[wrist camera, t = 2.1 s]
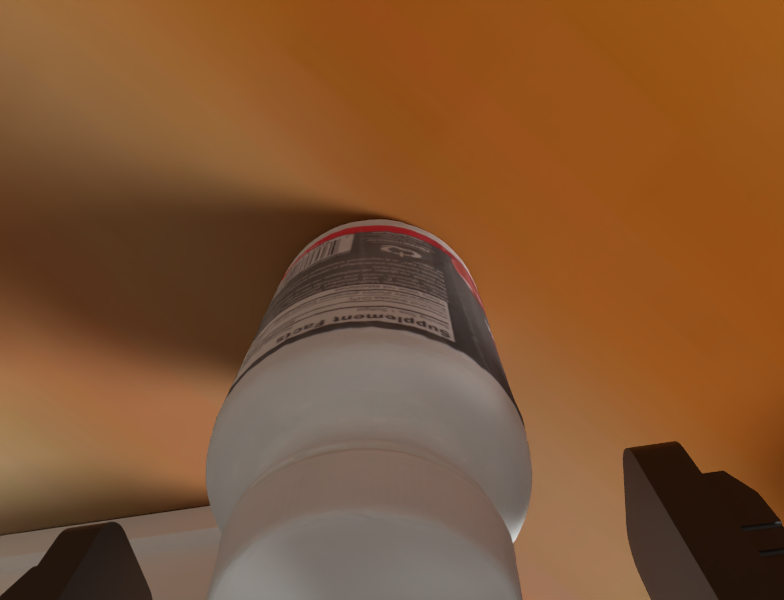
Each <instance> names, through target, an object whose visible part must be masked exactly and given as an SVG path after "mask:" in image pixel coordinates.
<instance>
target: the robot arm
mask: <svg viewBox="0 0 784 600" xmlns="http://www.w3.org/2000/svg"><path fill="white" fill-rule="evenodd" d="M623 470H624V489H625V508H626V526H627V535H628V540H629V545H630V549H631V552H632V556H633V559H634V562H635V565H636V567H637V570H638V572H639V575H640V577H641V579H642V581H643V583H644V585H645V587H646V590H647V592H648V594H649V596H650V598H651V600H784V527H783V526H782V524H781V520H780V519H779V518H778V517H777V516H776V514H775V513H774V512H773V511H772V509H771V508H770V507H769V506H768V504H767V503H766V502H765V501H764V500H763V498H762V497H761V496H760V495H759V493H758V492H756V491H755V490H753V489H751V488H750V487H748V486H747V485H745V484H744V483H742V482H740V481H739V480H737V479H736V478H734V477H733V476H731V475H729V474H728V473H726V472H725V471H718V472H711V473H704V474H702V473H701V472H700V470H699V469H698V467H697V466H696V465H695V463H694V462H693V460H692V459H691V458H690V456H689V455H688V454H687V452H686V451H685V449H684V448H683V447H682V446H681V444H679V443H678V442H676V441H673V442H666V443H659V444H652V445H645V446H638V447H632V448H626V449H625V450H624V453H623ZM0 600H152V594H151V591H150V588H149V586H148V584H147V581H146V579H145V577H144V574H143V572H142V570H141V568H140V565H139V563H138V561H137V558H136V556H135V554H134V552H133V549H132V547H131V545H130V542H129V540H128V538H127V535H126V533H125V531H124V529H123V528H122V526H121V525H120V524H118V523H116V522H106V523H99V524H92V525H85V526H79V527H72V528H67V529H65V530H63V531H62V532H61V533H60V534H59V535H58V537H57V538H56V539H55V541H54V542H53V544H52V545H51V547H50V548H49V549H48V551H47V552H46V554H45V555H44V557H43V558H42V559H41V561H40V562H39V564H38V565H37V566H34V567H32V568H31V569H29V570H28V571H27V572H26V573H25V574H24V575H23V576H22V577H21V578H19V579H18V580H17V581H16V582H15V583H14V584H13V585H12V586H11V587H9V588H8V589H7V590H6V591H5V592H4V593H3V594H2V595H1V596H0Z"/></svg>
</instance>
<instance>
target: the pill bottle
mask: <svg viewBox="0 0 784 600" xmlns="http://www.w3.org/2000/svg"><path fill="white" fill-rule="evenodd" d="M206 486H207V494H208V498H209V502H210V506H211V510H212V513H213V516H214V518H215V521H216V524H217V526H218V528H219V530H220V532H221V534H222V536H221V539H220V544H219V551H218V557H217V560H216V564H215V568H214V571H213V575H212V578H211V582H210V586H209V589H208V593H207V597H206V600H522V594H521V588H520V582H519V576H518V571H517V565H516V557H515V551H514V545H513V543H514V541H515V539H516V538H517V536H518V534H519V532H520V530H521V527H522V525H523V522H524V520H525V517H526V513H527V510H528V506H529V501H530V495H531V488H532V466H531V458H530V452H529V447H528V442H527V437H526V432H525V427H524V423H523V419H522V416H521V413H520V411H519V409H518V407H517V405H516V403H515V400H514V398H513V395H512V393H511V390H510V387H509V384H508V381H507V378H506V375H505V372H504V370H503V367H502V364H501V361H500V358H499V355H498V352H497V349H496V345H495V342H494V339H493V336H492V333H491V330H490V326H489V323H488V320H487V317H486V314H485V311H484V307H483V304H482V301H481V298H480V296H479V293H478V291H477V287H476V285H475V283H474V281H473V279H472V277H471V275H470V273H469V271H468V269H467V267H466V266H465V264H464V263H463V261H462V260H461V259H460V257H459V256H458V255H457V254H456V253H455V252H454V251H453V250H452V249H451V248H450V247H449V246H448V245H447V244H446V243H445V242H443V241H442V240H441V239H439V238H437V237H436V236H434V235H433V234H431V233H429V232H427V231H425V230H422V229H420V228H418V227H415V226H412V225H408V224H405V223H403V222H399V221H393V220H384V219H376V220H365V221H357V222H352V223H347V224H344V225H341V226H338V227H335V228H333V229H331V230H329V231H327V232H325V233H324V234H322V235H320V236H319V237H317V238H316V239H314V240H313V241H312V242H311V243H309V244H308V245H307V246H306V247H305V248H304V249H303V250H302V251H301V252H300V253H299V254H298V256H297V257H296V258H295V259H294V261H293V262H292V264H291V265H290V266H289V268H288V270H287V271H286V273H285V275H284V277H283V279H282V280H281V282H280V284H279V286H278V288H277V291H276V292H275V294H274V297H273V299H272V301H271V303H270V305H269V307H268V309H267V311H266V313H265V315H264V317H263V319H262V322H261V324H260V326H259V329H258V331H257V334H256V336H255V338H254V340H253V342H252V344H251V347H250V349H249V350H248V352H247V354H246V356H245V358H244V361H243V363H242V365H241V367H240V369H239V372H238V374H237V376H236V378H235V380H234V382H233V384H232V386H231V388H230V391H229V393H228V395H227V397H226V399H225V401H224V403H223V405H222V407H221V409H220V411H219V414H218V416H217V418H216V422H215V425H214V428H213V433H212V436H211V439H210V443H209V447H208V453H207V461H206Z"/></svg>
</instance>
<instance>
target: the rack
mask: <svg viewBox="0 0 784 600" xmlns="http://www.w3.org/2000/svg"><path fill="white" fill-rule="evenodd" d="M106 522H116V523H118V524H120V525H121V526H122V528H123V529H124V531H125V533H126V535H127V538H128V540H129V542H130V545H131V547H132V549H133V552H134V554H135V556H136V558H137V561H138V563H139V565H140V568H141V570H142V572H143V574H144V577H145V579H146V581H147V584H148V586H149V588H150V591H151V594H152V600H206V597H207V593H208V589H209V586H210V582H211V578H212V575H213V571H214V568H215V564H216V560H217V557H218V551H219V544H220V539H221V536H222V534H221V532H220V530H219V528H218V526H217V524H216V521H215V518H214V516H213V513H212V510H211V506H205V507H198V508H191V509H184V510H177V511H170V512H163V513H156V514H149V515H142V516H135V517H128V518H121V519H114V520H107V521H100V522H93V523H86V524H79V525H73V526H66V527H59V528H52V529H45V530H38V531H31V532H24V533H17V534H10V535H3V536H0V596H1V595H2V594H3V593H4V592H5V591H6V590H7V589H8V588H9V587H11V586H12V585H13V584H14V583H15V582H16V581H17V580H18V579H19V578H21V577H22V576H23V575H24V574H25V573H26V572H27V571H28V570H29V569H31V568H32V567H34V566H37V565H38V564H39V562H40V561H41V559H42V558H43V557H44V555H45V554H46V552H47V551H48V549H49V548H50V547H51V545H52V544H53V542H54V541H55V539H56V538H57V537H58V535H59V534H60V533H61V532H62V531H63V530H65V529H67V528H72V527H79V526H85V525H92V524H99V523H106Z"/></svg>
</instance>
